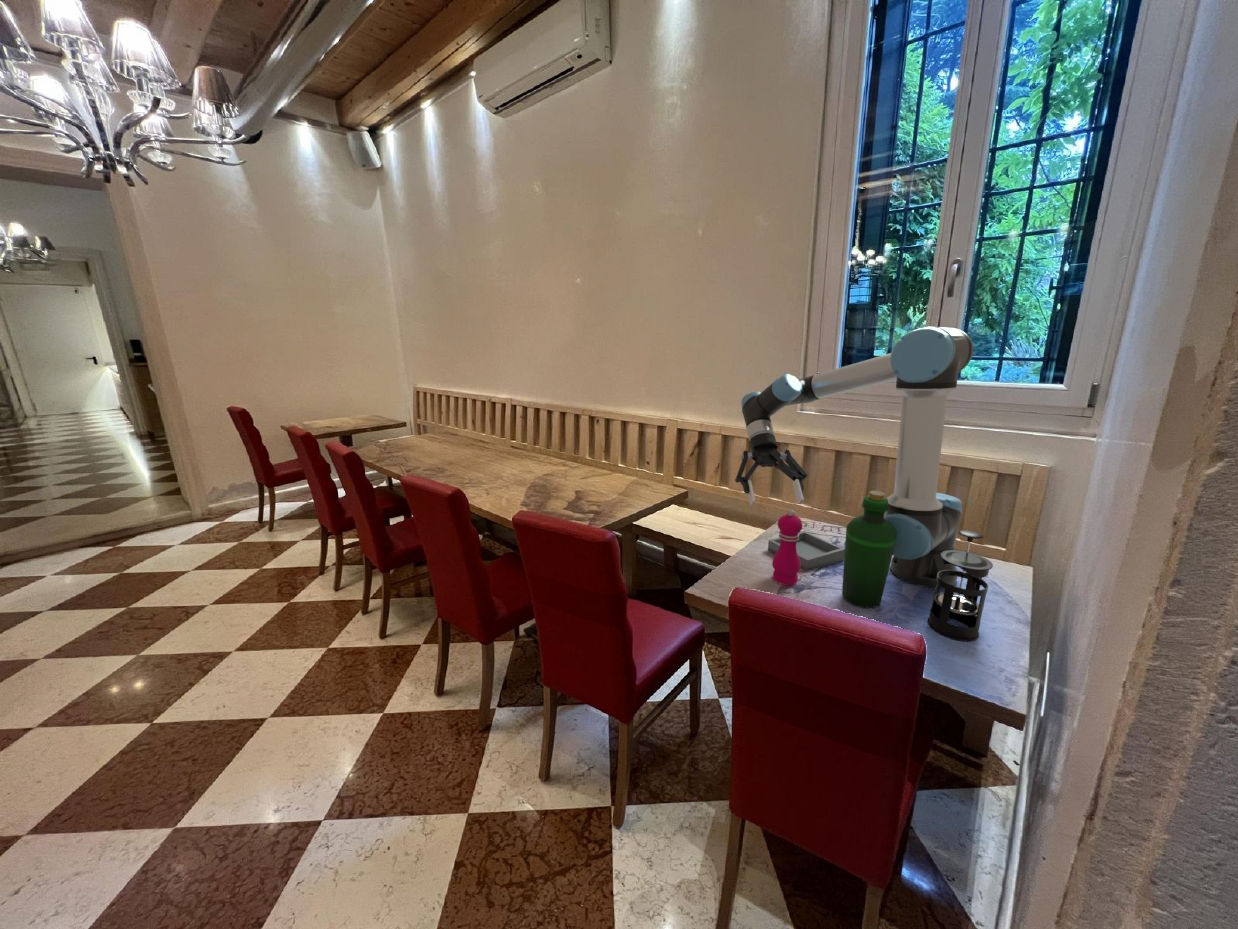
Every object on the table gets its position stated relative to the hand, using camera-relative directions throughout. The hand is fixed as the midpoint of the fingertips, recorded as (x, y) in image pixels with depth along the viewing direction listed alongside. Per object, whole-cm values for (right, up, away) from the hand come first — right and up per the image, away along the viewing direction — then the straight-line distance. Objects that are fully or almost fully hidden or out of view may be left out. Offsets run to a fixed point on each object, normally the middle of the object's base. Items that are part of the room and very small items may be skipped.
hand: (777, 502), depth 128 cm
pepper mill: (+1, -21, -4) cm, 21 cm away
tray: (+12, -17, +10) cm, 23 cm away
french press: (+31, -26, -25) cm, 47 cm away
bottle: (+16, -23, -14) cm, 31 cm away
